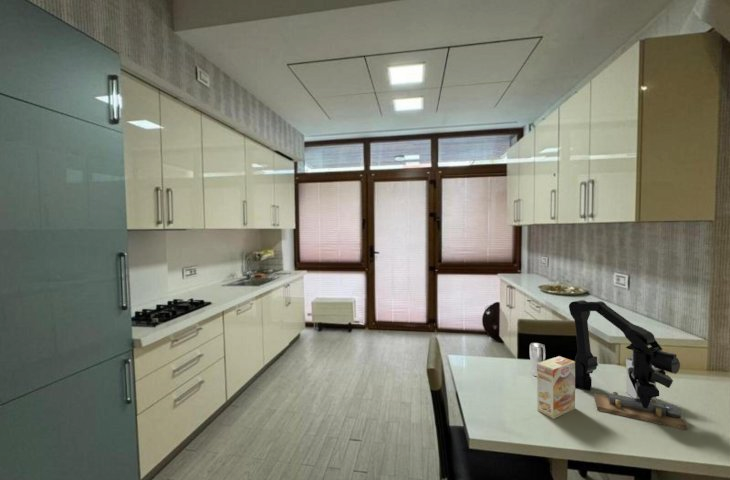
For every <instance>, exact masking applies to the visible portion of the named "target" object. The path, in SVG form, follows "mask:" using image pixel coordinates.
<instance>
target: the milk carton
mask: <svg viewBox="0 0 730 480" xmlns="http://www.w3.org/2000/svg"><path fill="white" fill-rule="evenodd" d="M632 362H633V352H632V353H630V356H628V357H627V358H626V360H625V363H626V364H625V367H626V368H625V369H626V370H625V373H626V378H625V379H626V380H625V383H626V387H625V389H626V390H625V391H626V393H627V394H628V395H629V397H632V398H637V399H639V397H638V395H637V393H636V391H635V389H634V387H633V384H632V382H631V380H630V378H629V375H628V369H629V368H630V367H632V368H633V366H632ZM652 368H653V369H654V370H657V368H655V367H654V366H652ZM649 383H650V384H654V385H655V386H656V387H657V382H655V383H651V382H649ZM651 399H654V400H656V401H657V397H652V398H651Z"/></svg>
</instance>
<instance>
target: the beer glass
mask: <svg viewBox="0 0 730 480" xmlns="http://www.w3.org/2000/svg"><path fill="white" fill-rule="evenodd" d="M545 347H546V346H545V344H542V343H539V342H531V343H530V344H529V358H530V364H531V368H530V369H531V370H530V374H531V375H532V376H533V377H536V378H537V363H540V362H543V361H546V348H545Z"/></svg>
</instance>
